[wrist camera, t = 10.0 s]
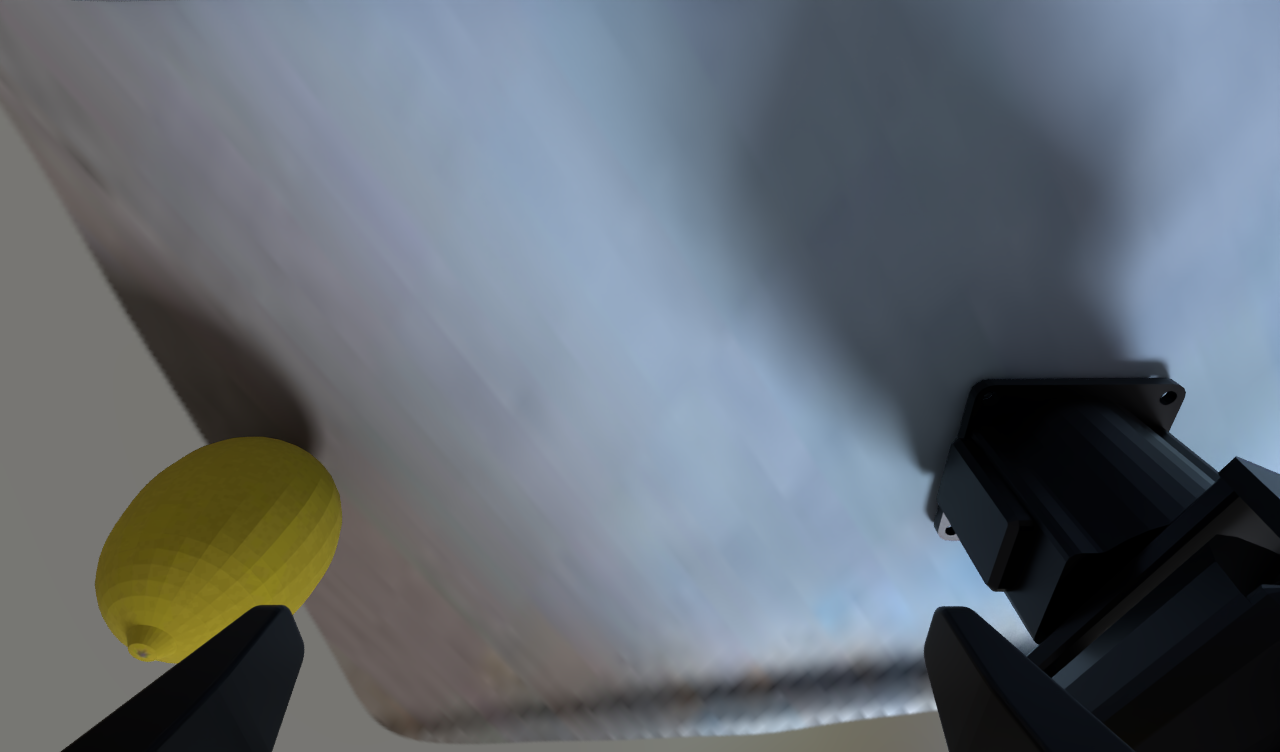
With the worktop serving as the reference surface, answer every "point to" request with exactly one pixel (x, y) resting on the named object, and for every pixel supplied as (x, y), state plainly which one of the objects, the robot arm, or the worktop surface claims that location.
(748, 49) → the worktop surface
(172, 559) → the lemon
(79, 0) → the grey peg base plate
